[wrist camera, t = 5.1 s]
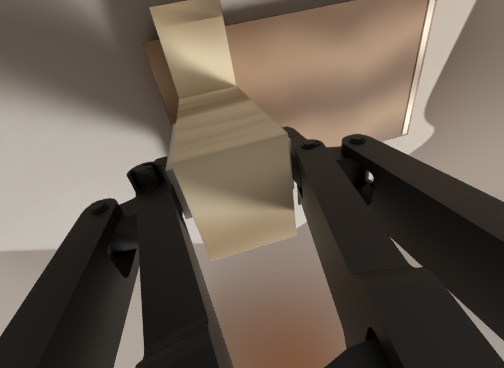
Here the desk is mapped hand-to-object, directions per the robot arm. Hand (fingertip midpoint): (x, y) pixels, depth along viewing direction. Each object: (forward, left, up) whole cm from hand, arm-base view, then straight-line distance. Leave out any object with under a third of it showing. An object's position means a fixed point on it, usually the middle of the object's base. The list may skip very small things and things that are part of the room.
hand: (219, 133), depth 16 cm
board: (0, +8, -5) cm, 9 cm away
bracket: (-1, 0, -5) cm, 5 cm away
